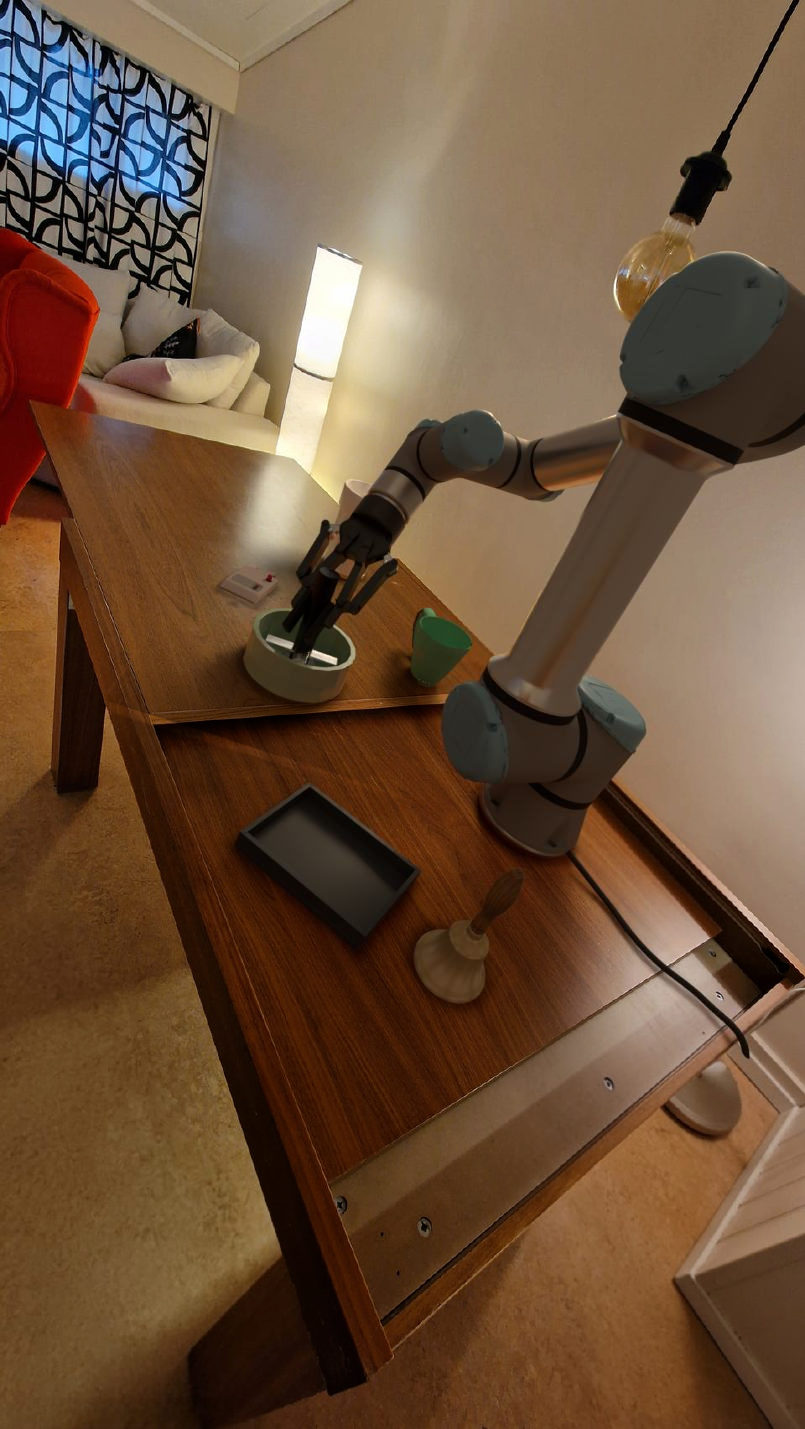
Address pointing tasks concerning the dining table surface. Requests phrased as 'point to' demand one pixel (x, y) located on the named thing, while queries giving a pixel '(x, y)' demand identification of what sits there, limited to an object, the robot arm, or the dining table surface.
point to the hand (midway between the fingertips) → (296, 635)
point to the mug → (436, 647)
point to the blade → (311, 621)
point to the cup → (348, 503)
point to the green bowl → (289, 674)
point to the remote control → (250, 583)
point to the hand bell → (464, 946)
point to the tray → (328, 862)
